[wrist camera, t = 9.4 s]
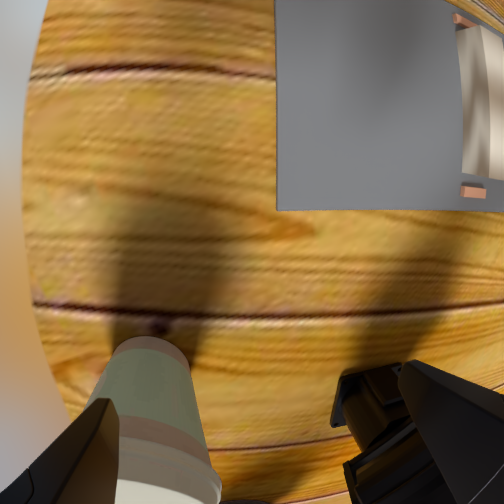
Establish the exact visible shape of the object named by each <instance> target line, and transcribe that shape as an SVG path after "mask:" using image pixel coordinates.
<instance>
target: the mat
mask: <svg viewBox="0 0 504 504" xmlns="http://www.w3.org/2000/svg"><path fill="white" fill-rule="evenodd" d="M274 15H275V58H276V210H277V211H304V210H453V211H485V212H504V180H498V179H492V178H487V177H482V176H477V175H472V174H467V173H462V157H463V106H462V87H461V75H460V64H459V55H458V48H457V40H456V34H455V32H456V31H460V30H463V29H467V28H470V27H474V26H478V25H481V26H483V27H484V28H486V29H488V30H489V31H491V32H492V33H494V34H496V35H497V36H499V37H500V38H502V42H503V48H504V35H503V34H502V33H500V32H499V31H497V30H496V29H494V28H493V27H491V26H489V25H488V24H486V23H484V22H483V21H481V20H479V19H478V18H476V17H474V16H473V15H471V14H469V13H467V12H465V11H464V10H462V9H460V8H458V7H456V6H454V5H452V4H450V3H448V2H446V1H444V0H274Z"/></svg>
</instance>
